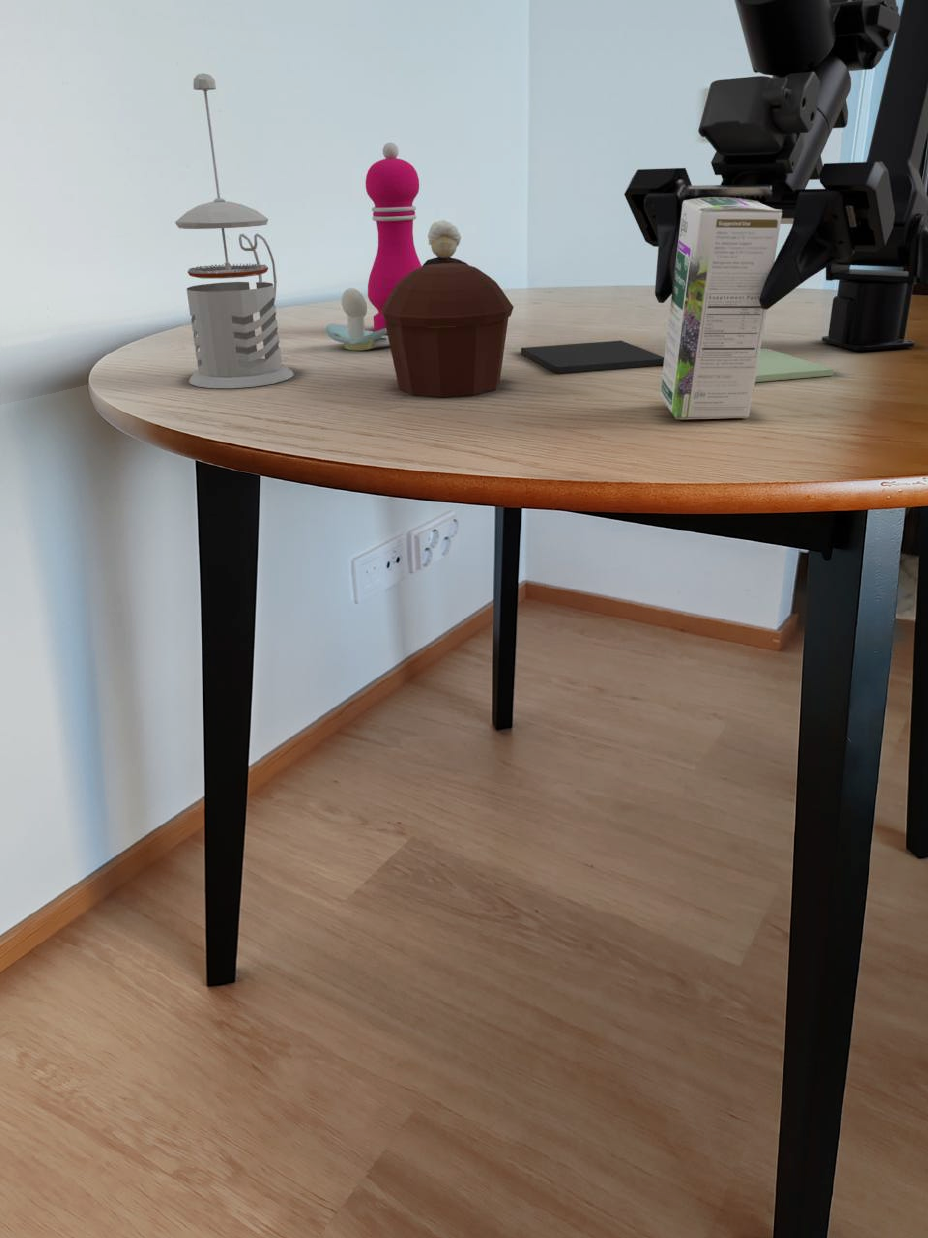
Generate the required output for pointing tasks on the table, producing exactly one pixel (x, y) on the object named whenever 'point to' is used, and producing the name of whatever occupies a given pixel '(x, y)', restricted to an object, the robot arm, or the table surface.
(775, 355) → the sage mat
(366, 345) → the pacifier
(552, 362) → the charcoal mat
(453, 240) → the grandmother figurine
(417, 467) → the table surface
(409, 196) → the pepper mill
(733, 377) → the syrup box
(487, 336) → the muffin
